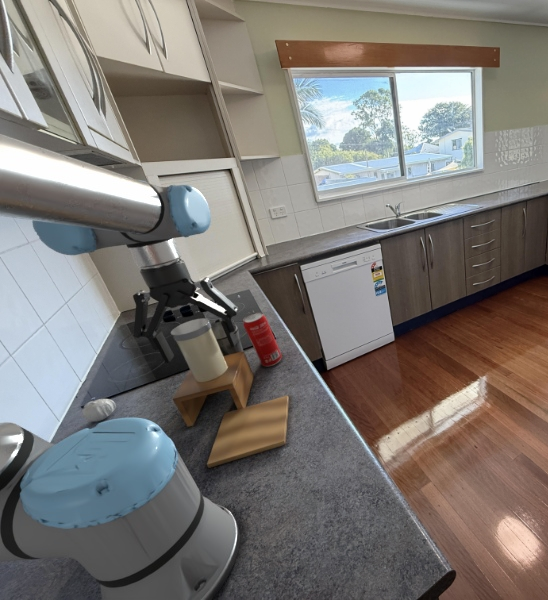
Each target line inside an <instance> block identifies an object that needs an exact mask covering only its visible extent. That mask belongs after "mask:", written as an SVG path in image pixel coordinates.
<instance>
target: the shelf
mask: <svg viewBox="0 0 548 600" xmlns="http://www.w3.org/2000/svg"><path fill="white" fill-rule="evenodd" d="M224 359H225V361H226V363H227V366H228V368H227V370H226V371H225V372H224V373H223V374H222V375H221V376H219V377H217V378H215V379H213V380H210V381H207V382H197V381H196V380H195V379H194V377H193V375H192V373H191V371H190V370H188V372H187V374H186V375H185V377H184V379H183V381H182V382H181V384H180V386H179V388H178V389H177V390H176V392H175V394H174V396H173V397H172V401H173V403H174V404H175V406H176V409H177V410H178V412H179V413H180V415H181V417H182V419H183V422H185V425H186V426H187V428H189V427H193V426H194V425H195V423H196V421H197V418H198V417H199V414H200V412H201V409H202V408H203V405H204V403H205V401H206V398H207V396H208V395H213V394H216V393H219V392H223V391H226V390H228V391H229V393H230V396H231V398H232V400H233V402H234V405H235V407H236V410H238V409H241V408H245V407H247V403H248V399H249V396H250V392H251V391H250V390H251V388H252V385H253V381H254V377H255V376H254V373H253V370H252V368H251V365H250V363H249V361H248V357H247V355H246V353H245V351H244V350H243V351H242V352H238V353H234V354H230V355H226V356H224Z"/></svg>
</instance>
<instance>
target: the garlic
mask: <svg viewBox="0 0 548 600" xmlns="http://www.w3.org/2000/svg"><path fill="white" fill-rule="evenodd" d="M116 409H117V406H116V402H115V401H113V400H112V399H110V398H100V399H96V400H93V401H89V402H87V403H85V405H84V406H83V409H82V410H81V415H82V417H83V418H84V419H85V420H86V421H88V422H100V421H103V420H105V419H107V418H109V417H110V416H111V415H112V414H113V413H114V412H115V410H116Z"/></svg>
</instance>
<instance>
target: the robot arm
mask: <svg viewBox="0 0 548 600" xmlns="http://www.w3.org/2000/svg"><path fill="white" fill-rule="evenodd" d="M0 217H3V218H12V219H20V220H25V221H26V220H28V221H31V223H32V228H33V230H34V232H35V233H36V236H38V238H39V240H40V241H41V242H42V244H44V245H45V246H46V247H47V248H48V249H51V250H52V251H54V252H56V253H59V254H61V255H66V256H78V255H83V254H88V253H89V254H91V253H94V252H95V251H97V250H101V249H105V248H112V247H118V246H119V247H120V246H126V248H127V249H128V251H129V253H130V255H131V257H132V260H133V262H134V264H135V265H136V267H137V268H140V271H139V273H140V275H141V276H142V280H143V281H144V283H145V285H146V286H147V287H148V289H149V290H147V291H146V290H143V289H140V290H138V291H137V292H136V293H134V294H133V295H132V299H133V301H134V303H135V304H134V305H135V312H134V313H135V314H134V326H133V327H134V328H133V337H134V338H137V339H139V338H146V339H147V340H148V341H149V343H150V345H151V347H152V348H153V350H155V351H159V354H160V355H161V357H162V359H163V361H164V363H165V364H168V363H170V362H171V361H172V360H173V358H175V355H174V353H173V350H172V349H171V347H170V345H169V343H168V341H167V339H166V337H165V335H164V334H163V331H158V329H159V326H160V325H161V323H162V320H163V317H164V315H165V313H166V311H167V309H168V308H170V309H174V308H177V307H183V306H187V305H189V304H190V305H192V306H196V307H198V308H201V309H203V310H204V311H206V312H208V313H210V314H212V315H214V316H216V317H218V318H219V317H220V318H221V319H222V321H221V324H222V327H223V329H224V331H225V334H226V336H227V338H228V341H229V343H230V346H231V347H235V345H236V342H237V340H236V337H235V335H234V331H235V329H236V326H237V324H236V323H235V320H234V318H233V317H236V316H238V315H237V314H238V312H239V311H240V309H239V307H238V306H237V305H236V304H235V303H233V302H232V301H231V300H230V299H229V298H227V297H226V295H224V294H223V293H222V292H221V291H220V290H219V289H218V288H216V287H215V286H214V284H213V283H212V281H211V279H210V278H209V277H207V276H205V277H203V279H200V280H196V281H194V280H193V278H192V277H191V274H190V272H189V270H188V269H189V268H188V267H187V265H186V262H185V261H184V260H183V259H182V258H181V257H182V254H181V252H180V250H179V247H178V245H177V242H176V240H175V239H176V238H189V237H191V236H195V235H201V234H204V233H205V232H207V231H208V229H210V226H211V223H212V215H211V209H210V205H209V204H208V201H207V200H206V197H204V195H203V194H202V193H201V191H200V190H198V189H197V188H195V187H194V186H191V185H188V184H179V185H177V184H170V185H169V186H159V185H156V184H152V183H149V182H147V181H146V180H141V179H137V178H134V177H132V176H128V175H126V174H125V175H124V174H122V173H119V172H117V171H113V170H110V169H107V168H104V167H101V166H98V165H95V164H92V163H89V162H85V161H84V160H80V159H77V158H74V157H70V156H68V155H65V154H63V153H59V152H57V151H53V150H50V149H47V148H44V147H42V146H38V145H36V144H32V143H30V142H26V141H24V140H20V139H17V138H15V137H11V136H8V135H5V134H2V133H0ZM197 288H198V289H200V290H201V291H203V292H204V293H205V294H206V295H207V296H209V297H210V298H211V299H212V300H213V301H214V302H213V301H211V300H210V299H209V298H206V297H205V296H203V294H201V293H200V292H197ZM151 299H153V300H154V301H156V302H158V303H157V305H156V307H155V311H154V313H153V315H152V318H151V320H150V323H149V325H148V326H147V323H148V312H149V301H150V300H151ZM215 303H217V304H215ZM240 545H241V532H240V527H239V524H238V522H237V521H236V519H235V517H234V515H233V514H232V512H231V511H230V510H228V508H226V507H224V506H222V505H220V504H218V503H214V502H212V501H211V500H210V499H209V498H207V497H205V496H204V495H203V494H202V492H201V491H200V489H199V487H198V486H197V484H196V482H195V480H194V478H193V476H192V474H191V473H190V471H189V469H188V468H187V465H186V464H185V462H184V460H183V458H182V457H181V455H180V453H179V451H178V449H177V447H176V446H175V443H174V441H173V440H172V439H171V438H170V437H169V436H168V435H167V434H166V433H165V431H164V430H163V429H162V428H161V426H159V425H158V424H157V423H156V422H154V421H152V420H150V419H147V418H142V417H130V416H129V417H119V418H113V419H109V420H105V421H102V422H99V423H97V424H96V426H94V427H92V428H88V427H85V428H83V429H80V430H79V431H77V432H74V433H72V434H70V435H69V436H67V437H65V438H63V439H62V440H60V441H58V442H57V443H52V442H49V441H48V440H45V439H44V438H42V437H40V436H39V435H36V434H35V433H34V432H31V431H30V430H28V429H26V428H24V427H22V426H21V425H18V424H16V423H14V422H8V421H7V422H6V421H5V422H0V563H3V562H16V561H18V562H19V561H28V560H32V561H33V560H45V559H58V558H59V559H60V558H69V559H73V560H75V561H76V562H78V563H79V564H80V565H81V567H83V568H84V569H85V570H86V571H87V572H88V573H89V574H90V575H91V577H93V578H94V580H95V581H96V582H97V583H98V584H99V586H100V595H101V600H213V599H214V598H215V597H216V595H217V594H218V592H219V591H220V590H221V588H222V587H223V586H224V584H225V582H226V581H227V579H228V577H229V575H230V574H231V572H232V570H233V567H234V565H235V563H236V560H237V557H238V554H239V550H240Z"/></svg>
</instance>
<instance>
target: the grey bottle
mask: <svg viewBox="0 0 548 600" xmlns="http://www.w3.org/2000/svg"><path fill="white" fill-rule="evenodd" d="M214 303H215V304H217V305H218V303H217V302H214ZM221 321H222V319H221V318H220V317H218V318H217V319H216V320H214V321H213V322H212V323H210V324H211V329H212V331H213V333H214V336H215V338H216V340H217V342H218V345H219V347H220V349H221V352H222V354H223V356H226V355H230V354H234V353H238V352H242V351H244V349H243V346H242V342H241V338H240V333H239V332H240V331H239V327H238V326H237V325H236V329H235V331H234V335H235V337H236V340H237V342H236V345H235V347H231V346H230V343H229V341H228V338H227V336H226V334H225V331H224V329H223V327H222V324H221Z"/></svg>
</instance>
